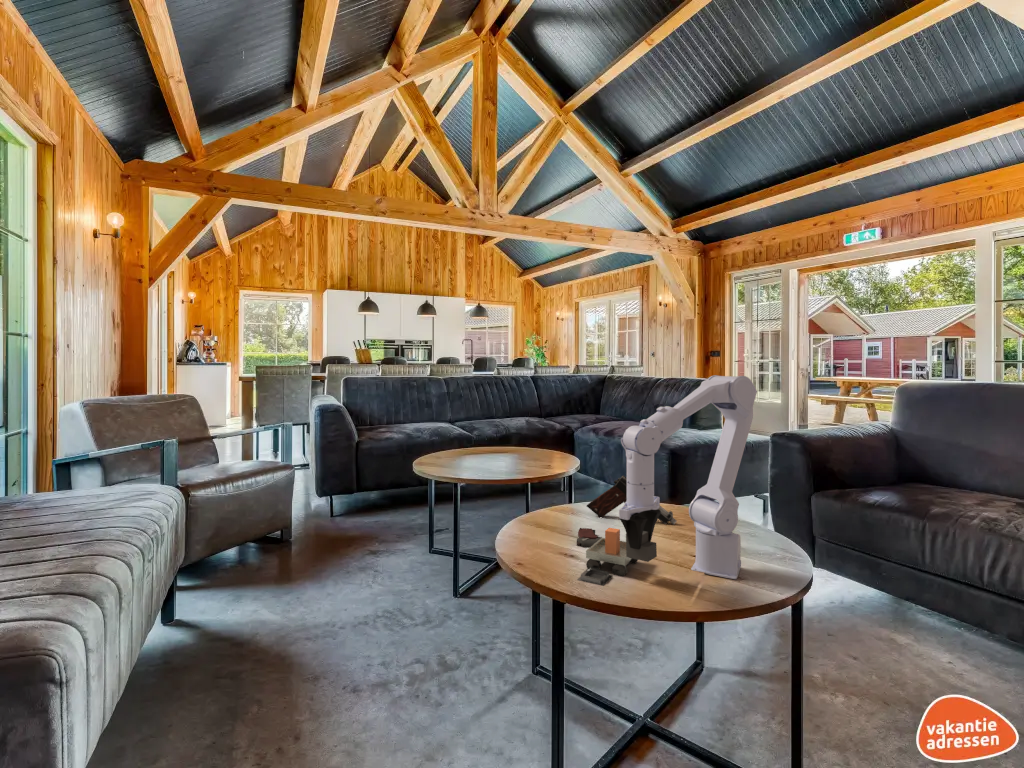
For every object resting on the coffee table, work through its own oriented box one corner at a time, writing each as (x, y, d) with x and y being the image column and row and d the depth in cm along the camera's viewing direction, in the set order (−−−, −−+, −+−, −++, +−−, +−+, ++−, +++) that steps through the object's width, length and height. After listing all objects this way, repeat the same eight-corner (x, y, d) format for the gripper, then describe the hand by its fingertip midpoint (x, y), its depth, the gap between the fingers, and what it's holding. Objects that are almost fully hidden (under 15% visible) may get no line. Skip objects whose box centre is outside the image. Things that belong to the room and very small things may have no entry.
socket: (613, 577, 112) (613, 571, 112) (603, 588, 107) (603, 581, 107) (587, 572, 115) (587, 566, 115) (576, 582, 110) (576, 576, 110)
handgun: (647, 557, 151) (678, 519, 148) (586, 506, 158) (614, 468, 154) (649, 553, 154) (679, 516, 150) (588, 503, 161) (616, 467, 157)
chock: (656, 556, 110) (656, 533, 110) (648, 562, 107) (647, 538, 107) (635, 551, 113) (634, 529, 113) (626, 557, 110) (625, 533, 110)
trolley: (638, 563, 120) (638, 543, 120) (625, 579, 111) (624, 557, 111) (601, 556, 124) (601, 537, 124) (586, 571, 116) (586, 550, 116)
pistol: (633, 539, 139) (637, 554, 127) (577, 535, 142) (576, 550, 130) (634, 529, 139) (637, 544, 127) (577, 526, 142) (576, 540, 130)
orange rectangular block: (619, 550, 118) (619, 529, 118) (616, 554, 116) (616, 532, 116) (609, 548, 119) (609, 527, 119) (605, 552, 117) (605, 530, 117)
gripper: (641, 491, 101) (641, 559, 102) (672, 479, 112) (672, 540, 113) (610, 486, 106) (610, 551, 107) (643, 474, 117) (643, 533, 117)
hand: (640, 545), depth 110 cm, fingers closed on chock, 4 cm apart
